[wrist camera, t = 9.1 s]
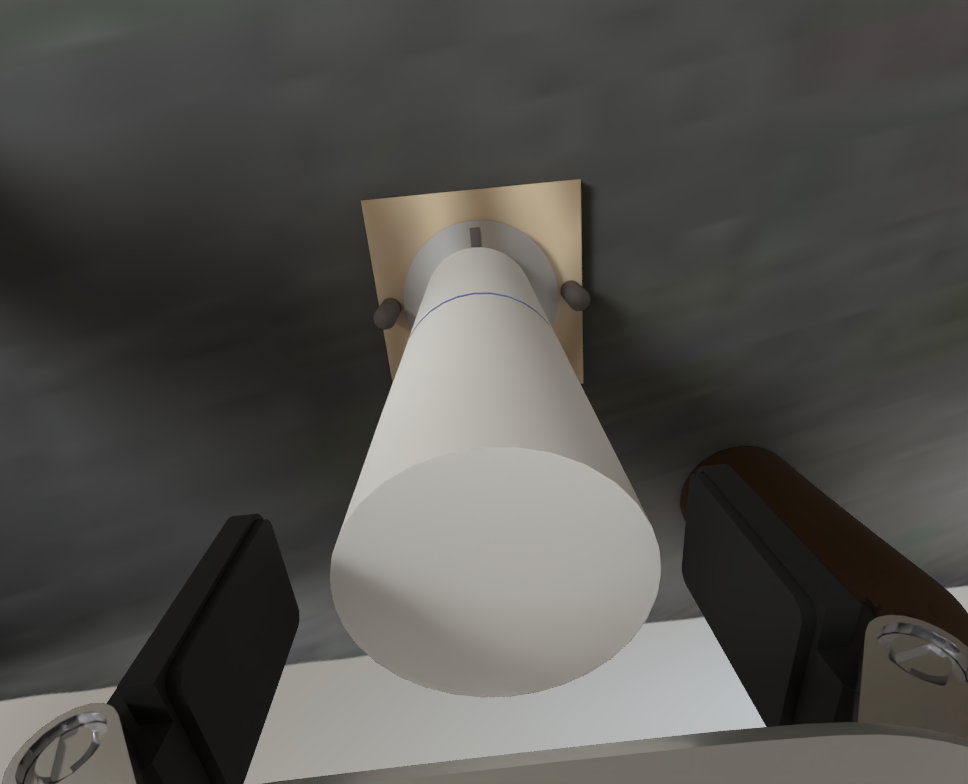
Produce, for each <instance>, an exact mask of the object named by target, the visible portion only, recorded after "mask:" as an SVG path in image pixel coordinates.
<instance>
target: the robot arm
mask: <svg viewBox="0 0 968 784" xmlns="http://www.w3.org/2000/svg"><path fill="white" fill-rule="evenodd" d="M682 573H683V578H684V581H685V583H686V585H687V587H688V589H689V591H690V592H691V594H692V596H693V598H694V600H695V601H696V603H697V605H698V607H699V608H700V610H701V612H702V614H703V615H704V617H705V619H706V621H707V622H708V624H709V626H710V628H711V629H712V631H713V633H714V635H715V637H716V638H717V640H718V642H719V644H720V645H721V647H722V649H723V651H724V652H725V654H726V656H727V658H728V660H729V661H730V663H731V665H732V667H733V668H734V670H735V672H736V674H737V675H738V677H739V679H740V681H741V682H742V684H743V686H744V688H745V689H746V691H747V693H748V695H749V697H750V698H751V700H752V702H753V704H754V705H755V707H756V709H757V710H758V712H759V714H760V716H761V718H762V719H763V721H764V723H765V725H766V726H767V727H764V728H752V729H741V730H729V731H718V732H709V733H700V734H690V735H682V736H672V737H662V738H653V739H644V740H635V741H625V742H616V743H606V744H597V745H588V746H579V747H570V748H561V749H552V750H544V751H534V752H526V753H517V754H508V755H500V756H490V757H482V758H473V759H465V760H455V761H447V762H438V763H429V764H420V765H412V766H404V767H396V768H387V769H379V770H370V771H362V772H353V773H345V774H337V775H328V776H321V777H312V778H303V779H295V780H287V781H279V782H271V783H264V784H968V647H967V646H966V645H964V644H963V643H962V642H961V641H960V640H958V639H957V638H956V637H954V636H952V635H951V634H949V633H947V632H946V631H944V630H942V629H941V628H939V627H937V626H934V625H932V624H929V623H927V622H925V621H922V620H919V619H915V618H911V617H907V616H899V615H886V616H881V617H877V618H876V617H875V616H874V615H873V614H872V613H871V612H870V611H869V610H868V609H867V608H866V607H865V606H864V605H863V604H862V603H861V602H860V601H859V600H858V599H857V598H856V596H855V595H854V594H853V593H852V592H851V591H850V590H849V589H848V588H847V587H846V586H845V585H844V584H843V583H842V582H841V581H840V580H839V579H838V578H837V577H836V576H835V574H834V573H833V572H832V571H831V570H830V569H829V568H828V567H827V566H826V565H825V564H824V563H823V562H822V561H821V560H820V559H819V558H818V557H817V556H816V555H815V554H814V552H813V551H812V550H811V549H810V548H809V547H808V546H807V545H806V544H805V543H804V542H803V541H802V540H801V539H800V538H799V537H798V536H797V535H796V534H795V533H794V532H793V530H792V529H791V528H790V527H789V526H788V525H786V524H785V523H784V522H783V521H782V520H781V519H780V518H779V517H778V516H777V515H776V514H775V513H774V512H773V511H772V510H771V509H770V508H769V507H768V506H767V505H766V504H765V502H764V501H763V500H762V499H761V498H760V497H759V496H758V495H757V494H756V493H755V492H754V491H753V490H752V489H751V488H750V487H749V486H748V485H747V484H746V482H745V481H744V480H743V479H742V478H741V477H740V476H739V475H738V474H737V473H736V472H735V471H734V470H733V469H732V468H731V467H730V466H729V465H727V464H721V465H711V466H702V467H700V468H699V469H698V470H697V474H692V475H691V477H690V482H689V493H688V504H687V515H686V527H685V538H684V549H683V561H682ZM298 625H299V609H298V606H297V602H296V599H295V596H294V593H293V590H292V587H291V584H290V581H289V577H288V574H287V571H286V568H285V565H284V562H283V559H282V555H281V552H280V549H279V546H278V543H277V540H276V537H275V534H274V530H273V527H272V524H271V522H270V521H269V520H267V519H266V520H263V518H262V516H261V515H259V514H250V515H241V516H232V517H230V518H229V519H228V520H227V521H226V523H225V524H224V526H223V527H222V529H221V530H220V532H219V534H218V535H217V537H216V538H215V540H214V541H213V543H212V544H211V546H210V547H209V549H208V550H207V552H206V553H205V555H204V556H203V558H202V559H201V561H200V562H199V564H198V565H197V567H196V568H195V570H194V571H193V573H192V574H191V576H190V577H189V579H188V580H187V582H186V583H185V585H184V586H183V588H182V589H181V591H180V592H179V594H178V595H177V597H176V598H175V600H174V601H173V603H172V605H171V606H170V608H169V609H168V611H167V612H166V614H165V615H164V617H163V618H162V620H161V621H160V623H159V624H158V626H157V627H156V629H155V630H154V632H153V633H152V635H151V636H150V638H149V639H148V641H147V642H146V644H145V645H144V647H143V648H142V650H141V651H140V653H139V654H138V656H137V657H136V659H135V660H134V662H133V663H132V665H131V666H130V668H129V669H128V671H127V672H126V674H125V676H124V677H123V679H122V680H121V682H120V683H119V685H118V686H117V689H116V690H115V692H114V693H113V695H112V696H111V698H110V700H109V701H108V702H107V704H105V703H91V704H88V705H84V706H80V707H77V708H75V709H72V710H70V711H68V712H66V713H64V714H62V715H60V716H58V717H57V718H55V719H54V720H52V721H51V722H50V723H48V724H47V725H45V726H44V727H42V728H41V729H40V730H39V731H37V732H36V733H35V734H34V735H33V736H32V737H31V738H30V739H29V740H27V741H26V742H25V744H24V745H23V746H22V747H21V748H20V750H19V751H18V752H17V753H16V754H15V756H14V757H13V758H12V760H11V762H10V764H9V765H8V767H7V769H6V771H5V773H4V776H3V781H2V784H243V783H244V780H245V778H246V775H247V772H248V769H249V766H250V763H251V760H252V758H253V755H254V752H255V749H256V746H257V743H258V740H259V737H260V735H261V732H262V729H263V726H264V723H265V720H266V717H267V714H268V712H269V709H270V706H271V703H272V700H273V697H274V694H275V692H276V689H277V686H278V683H279V680H280V677H281V674H282V671H283V669H284V666H285V663H286V660H287V657H288V654H289V651H290V648H291V646H292V643H293V640H294V637H295V634H296V631H297V628H298Z"/></svg>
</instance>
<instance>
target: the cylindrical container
mask: <svg viewBox="0 0 968 784" xmlns="http://www.w3.org/2000/svg"><path fill="white" fill-rule="evenodd" d="M660 576H661V563H660V549H659V546H658V543H657V540H656V537H655V534H654V531H653V528H652V526H651V524H650V522H649V520H648V518H647V516H646V514H645V512H644V510H643V508H642V506H641V504H640V502H639V500H638V498H637V496H636V494H635V492H634V490H633V488H632V486H631V484H630V482H629V480H628V478H627V476H626V474H625V472H624V470H623V468H622V466H621V464H620V462H619V460H618V458H617V456H616V454H615V452H614V450H613V448H612V446H611V444H610V442H609V440H608V438H607V436H606V434H605V432H604V430H603V428H602V426H601V424H600V422H599V420H598V418H597V416H596V414H595V412H594V410H593V408H592V406H591V404H590V402H589V400H588V398H587V396H586V394H585V392H584V390H583V388H582V386H581V384H580V382H579V380H578V378H577V376H576V374H575V372H574V370H573V368H572V366H571V364H570V362H569V360H568V358H567V356H566V354H565V352H564V350H563V348H562V346H561V344H560V342H559V340H558V338H557V336H556V334H555V332H554V330H553V328H552V326H551V324H550V322H549V320H548V318H547V316H546V314H545V312H544V310H543V308H542V306H541V304H540V302H539V300H538V298H537V296H536V294H535V292H534V290H533V288H532V286H531V284H530V282H529V280H528V278H527V277H526V275H525V273H524V272H523V270H522V268H521V267H520V266H519V265H518V264H517V263H516V262H515V261H514V260H513V259H512V258H510V257H509V256H507V255H506V254H504V253H502V252H499V251H497V250H495V249H490V248H485V247H472V248H468V249H463V250H460V251H458V252H456V253H453V254H452V255H450V256H449V257H447V258H446V259H444V260H443V261H442V263H441V264H440V265H439V266H438V267H437V268H436V269H435V271H434V273H433V274H432V276H431V278H430V280H429V283H428V286H427V288H426V291H425V294H424V297H423V299H422V302H421V305H420V307H419V310H418V313H417V316H416V319H415V322H414V325H413V328H412V330H411V333H410V336H409V339H408V342H407V345H406V348H405V351H404V353H403V356H402V359H401V362H400V364H399V367H398V370H397V373H396V375H395V378H394V381H393V384H392V386H391V389H390V392H389V395H388V397H387V400H386V403H385V406H384V408H383V411H382V414H381V417H380V420H379V422H378V425H377V428H376V431H375V434H374V437H373V440H372V442H371V445H370V448H369V451H368V454H367V457H366V459H365V462H364V465H363V468H362V471H361V474H360V477H359V479H358V482H357V485H356V488H355V491H354V494H353V496H352V499H351V502H350V505H349V508H348V511H347V514H346V516H345V519H344V522H343V525H342V528H341V531H340V533H339V536H338V539H337V542H336V545H335V548H334V551H333V553H332V559H331V571H330V586H331V592H332V597H333V602H334V606H335V609H336V611H337V613H338V615H339V617H340V620H341V622H342V624H343V626H344V628H345V629H346V630H347V632H348V633H349V634H350V636H351V637H352V639H353V640H354V641H355V643H356V644H357V645H358V646H359V647H360V648H361V649H362V650H363V651H364V652H366V653H367V654H368V655H369V656H370V657H371V658H372V659H373V660H374V661H375V662H377V663H378V664H380V665H382V666H383V667H385V668H386V669H388V670H390V671H391V672H393V673H394V674H396V675H398V676H399V677H402V678H404V679H406V680H409V681H411V682H414V683H416V684H418V685H421V686H423V687H426V688H430V689H434V690H438V691H442V692H446V693H450V694H455V695H466V696H475V697H505V696H515V695H522V694H529V693H535V692H539V691H543V690H546V689H550V688H553V687H557V686H560V685H563V684H565V683H567V682H570V681H572V680H574V679H577V678H579V677H581V676H584V675H586V674H588V673H589V672H591V671H593V670H594V669H595V668H597V667H599V666H601V665H602V664H604V663H605V662H607V661H608V660H610V659H611V658H612V657H613V656H615V655H616V654H617V653H618V652H619V651H620V650H621V649H622V648H623V647H625V645H627V644H628V643H629V642H630V641H631V640H632V638H633V637H634V636H635V634H636V633H637V632H638V630H639V629H640V628H641V626H642V625H643V624H644V622H645V621H646V620H647V618H648V615H649V613H650V611H651V609H652V606H653V604H654V602H655V599H656V597H657V593H658V587H659V582H660Z"/></svg>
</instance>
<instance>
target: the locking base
mask: <svg viewBox="0 0 968 784" xmlns="http://www.w3.org/2000/svg"><path fill="white" fill-rule="evenodd" d="M361 204H362V210H363V216H364V222H365V227H366V233H367V239H368V245H369V250H370V256H371V262H372V268H373V273H374V279H375V285H376V291H377V296H378V302H379V308H378V309H377V311H376V312H375V314H374V323H375V324H376V326H377V327H379V328H380V329H383V331H384V336H385V342H386V348H387V354H388V359H389V365H390V371H391V377H392V382H393V381H394V378H395V375H396V373H397V370H398V367H399V364H400V362H401V359H402V356H403V353H404V351H405V348H406V345H407V342H408V339H409V336H410V333H411V330H412V328H413V325H414V322H415V319H416V316H417V313H418V310H419V307H420V305H421V302H422V299H423V297H424V294H425V291H426V288H427V286H428V283H429V280H430V278H431V276H432V274H433V273H434V271H435V269H436V268H437V267H438V266H439V265H440V264H441V263H442V261H443V260H444V259H446V258H447V257H449V256H450V255H452V254H453V253H456V252H458V251H460V250H463V249H468V248H472V247H485V248H490V249H495V250H497V251H499V252H502V253H504V254H506V255H507V256H509V257H510V258H512V259H513V260H514V261H515V262H516V263H517V264H518V265H519V266H520V267H521V268H522V270H523V272H524V273H525V275H526V277H527V278H528V280H529V282H530V284H531V286H532V288H533V290H534V292H535V294H536V296H537V298H538V300H539V302H540V304H541V306H542V308H543V310H544V312H545V314H546V316H547V318H548V320H549V322H550V324H551V326H552V328H553V330H554V332H555V334H556V336H557V338H558V340H559V342H560V344H561V346H562V348H563V350H564V352H565V354H566V356H567V358H568V360H569V362H570V364H571V366H572V368H573V370H574V372H575V374H576V376H577V378H578V380H579V382H580V384H583V317H582V311H583V310H585V309H586V308H587V307H588V306H589V304H590V301H591V298H590V295H589V293H588V292H587V291H586V290H585V289H584V288H583V287H582V238H581V179H576V180H566V181H556V182H545V183H535V184H525V185H514V186H504V187H494V188H484V189H473V190H463V191H453V192H443V193H432V194H422V195H412V196H402V197H391V198H381V199H371V200H362V201H361Z"/></svg>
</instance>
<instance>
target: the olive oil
mask: <svg viewBox="0 0 968 784" xmlns="http://www.w3.org/2000/svg"><path fill="white" fill-rule="evenodd" d="M721 464H727V465H729V466H730V467H731V468H732V469H733V470H734V471H735V472H736V473H737V474H738V475H739V476H740V477H741V478H742V479H743V480H744V481H745V482H746V484H747V485H748V486H749V487H750V488H751V489H752V490H753V491H754V492H755V493H756V494H757V495H758V496H759V497H760V498H761V499H762V500H763V501H764V502H765V504H766V505H767V506H768V507H769V508H770V509H771V510H772V511H773V512H774V513H775V514H776V515H777V516H778V517H779V518H780V519H781V520H782V521H783V522H784V523H785V524H786V525H788V526H789V527H790V528H791V529H792V530H793V532H794V533H795V534H796V535H797V536H798V537H799V538H800V539H801V540H802V541H803V542H804V543H805V544H806V545H807V546H808V547H809V548H810V549H811V550H812V551H813V552H814V554H815V555H816V556H817V557H818V558H819V559H820V560H821V561H822V562H823V563H824V564H825V565H826V566H827V567H828V568H829V569H830V570H831V571H832V572H833V573H834V574H835V576H836V577H837V578H838V579H839V580H840V581H841V582H842V583H843V584H844V585H845V586H846V587H847V588H848V589H849V590H850V591H851V592H852V593H853V594H854V595H855V596H856V598H857V599H858V600H859V601H860V602H861V603H862V604H863V605H864V606H865V607H866V608H867V609H868V610H869V611H870V612H871V613H872V614H873V615H874V616H875V617H876V618H877V617H881V616H886V615H899V616H907V617H911V618H915V619H919V620H922V621H925V622H927V623H929V624H932V625H934V626H937V627H939V628H941V629H942V630H944V631H946V632H947V633H949V634H951V635H952V636H954V637H956V638H957V639H958V640H960V641H961V642H962V643H963V644H964V645H966V646H967V647H968V613H967V612H966V610H965V609H964V608H963V607H962V605H961V604H960V603H959V602H958V601H957V600H956V598H955V597H954V596H953V595H952V594H950V593H949V592H948V591H947V590H946V589H945V588H944V587H943V586H942V585H940V584H939V583H938V582H937V581H935V580H934V579H933V578H932V577H930V576H929V575H928V574H926V573H925V572H924V571H922V570H921V569H920V568H919V567H917V566H916V565H915V564H913V563H912V562H911V561H910V560H908V559H907V558H906V557H904V556H903V555H902V554H900V553H899V552H898V551H897V550H895V549H894V548H893V547H891V546H890V545H889V544H888V543H886V542H885V541H884V540H882V539H881V538H880V537H878V536H877V535H876V534H875V533H873V532H872V531H871V530H870V529H868V528H867V527H866V526H864V525H863V524H862V523H861V522H859V521H858V520H857V519H856V518H854V517H853V516H852V515H850V514H849V513H848V512H847V511H845V510H844V509H843V508H842V507H840V506H839V505H838V504H837V503H835V502H834V501H833V500H831V499H830V498H829V497H828V496H826V495H825V494H824V493H823V492H821V491H820V490H819V489H818V488H816V487H815V486H814V485H813V484H812V483H810V482H809V481H808V480H807V479H806V478H804V477H803V476H802V475H801V474H799V473H798V472H797V471H796V470H795V469H793V468H792V467H791V466H790V465H789V464H787V463H786V462H785V461H784V460H782V459H781V458H780V457H779V456H777V455H776V454H774V453H772V452H770V451H768V450H765V449H762V448H758V447H737V448H732V449H728V450H725V451H722V452H720V453H717V454H715V455H713V456H712V457H710V458H708V459H707V460H705V461H704V462H703V463H701V464H700V465H699V466H698V467H697V468H696V469H695V470H694V471H693V472H692V474H697V470H698V469H699V468H700V467H702V466H711V465H721ZM692 474H691V475H692ZM691 475H690V476H689V478H688V479H687V481H686V483H685V485H684V487H683V490H682V494H681V501H680V505H681V511H682V515H683V517H684V519H685V521H686V515H687V504H688V493H689V482H690V477H691Z"/></svg>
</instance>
